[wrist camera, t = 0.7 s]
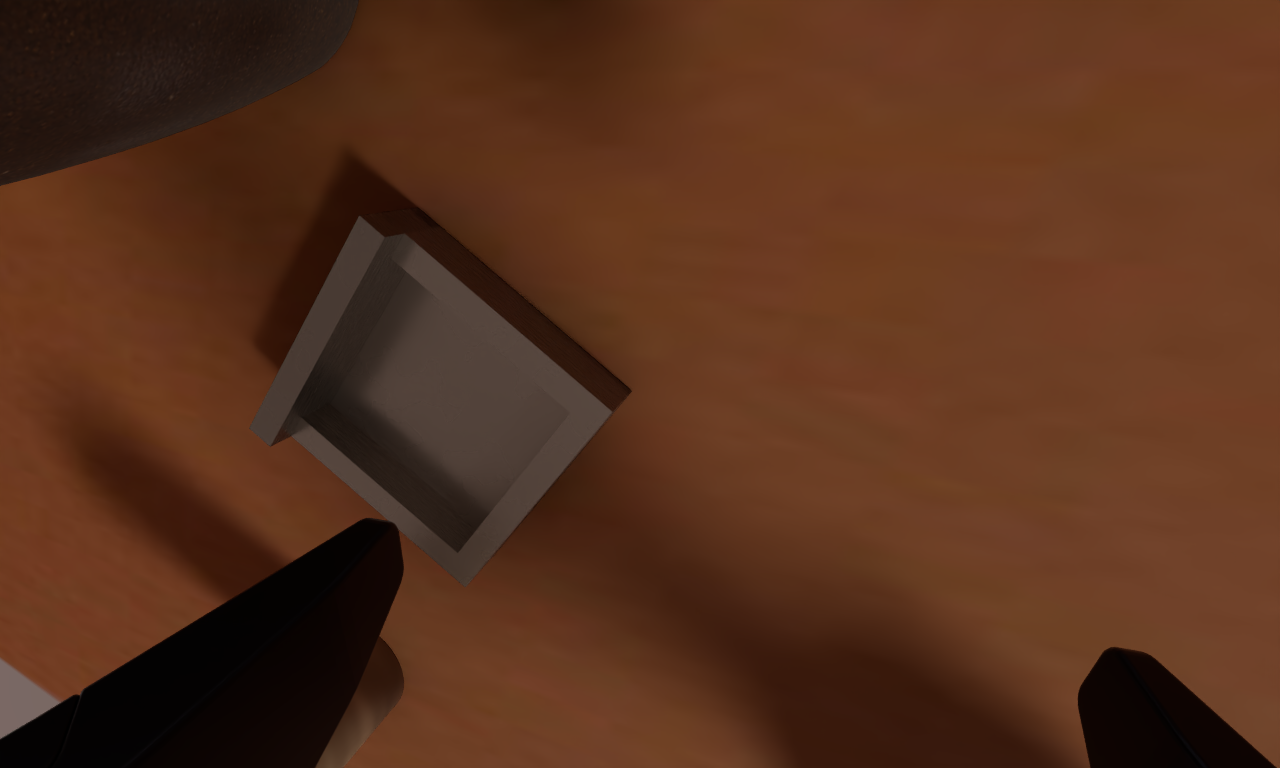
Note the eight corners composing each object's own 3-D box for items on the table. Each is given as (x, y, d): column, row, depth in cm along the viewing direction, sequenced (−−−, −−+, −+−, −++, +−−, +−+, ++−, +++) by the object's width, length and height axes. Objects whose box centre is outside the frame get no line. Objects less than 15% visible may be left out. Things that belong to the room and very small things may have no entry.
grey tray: (631, 391, 23) (601, 423, 20) (491, 558, 27) (450, 603, 24) (417, 207, 23) (359, 215, 21) (310, 400, 27) (249, 428, 25)
